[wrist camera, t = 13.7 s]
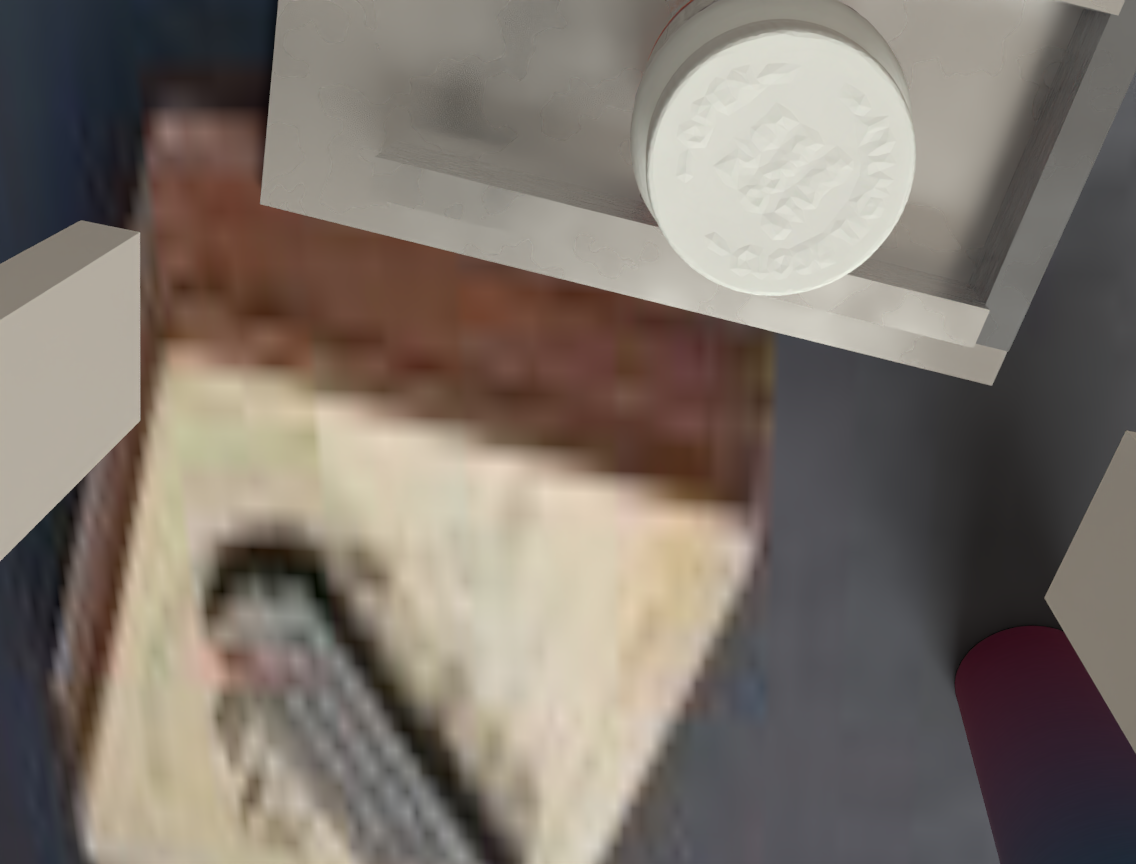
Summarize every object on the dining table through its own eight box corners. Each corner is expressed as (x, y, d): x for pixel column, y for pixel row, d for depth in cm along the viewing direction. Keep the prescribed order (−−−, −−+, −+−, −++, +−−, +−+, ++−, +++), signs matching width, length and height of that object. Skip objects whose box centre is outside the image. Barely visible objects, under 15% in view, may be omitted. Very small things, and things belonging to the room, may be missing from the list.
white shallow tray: (267, 199, 33) (229, 224, 30) (315, -319, 27) (272, -348, 24) (986, 378, 34) (1014, 418, 31) (1198, -94, 27) (1257, -97, 25)
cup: (1158, 636, 37) (1429, 1036, 24) (1064, 770, 40) (1257, 1192, 27) (980, 581, 37) (1152, 954, 23) (899, 720, 40) (1011, 1121, 26)
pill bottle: (889, 139, 30) (995, 245, 20) (694, 230, 32) (700, 370, 22) (809, -70, 28) (882, -71, 18) (605, 39, 30) (565, 95, 19)
